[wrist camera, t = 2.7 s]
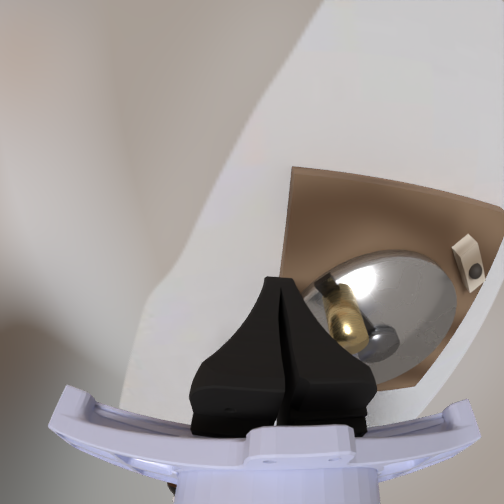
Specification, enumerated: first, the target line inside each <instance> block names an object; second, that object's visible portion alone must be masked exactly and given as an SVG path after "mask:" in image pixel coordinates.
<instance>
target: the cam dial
mask: <svg viewBox="0 0 504 504" xmlns="http://www.w3.org/2000/svg"><path fill="white" fill-rule="evenodd" d="M301 296H302V297H303V299H304V301H305V302H306V304H307V306H308V307H309V309H310V310H311V312H312V313H313V315H314V316H315V318H316V319H317V320H318V322H319V323H320V324H321V325H322V327H323V328H324V329H325V330H326V331H327V332H328V333H329V335H330V336H331V337H332V338H333V339H334V340H335V341H337V342H338V343H339V344H340V345H341V346H342V347H343V348H344V349H345V350H347V351H348V352H349V353H350V354H352V355H353V356H354V357H356V358H357V359H359V360H360V361H362V362H363V363H365V364H366V365H368V366H369V367H370V368H371V370H372V373H373V375H374V378H375V381H376V385H377V384H380V383H383V382H386V381H388V380H391V379H393V378H395V377H397V376H399V375H401V374H403V373H405V372H407V371H408V370H410V369H412V368H413V367H415V366H416V365H418V364H419V363H420V362H422V361H423V360H424V359H425V358H426V357H428V356H429V355H430V354H431V353H432V352H433V351H434V350H435V349H436V347H437V346H438V345H439V344H440V343H441V341H442V340H443V339H444V337H445V336H446V334H447V332H448V331H449V329H450V327H451V325H452V322H453V320H454V316H455V313H456V307H457V296H456V291H455V288H454V285H453V283H452V281H451V280H450V279H449V277H448V276H447V275H446V273H445V272H444V271H443V269H442V268H441V267H440V265H439V264H437V263H436V262H435V261H434V260H433V259H431V258H429V257H428V256H426V255H424V254H421V253H418V252H415V251H409V250H397V249H391V250H382V251H376V252H372V253H367V254H364V255H361V256H358V257H355V258H352V259H350V260H348V261H345V262H343V263H341V264H339V265H337V266H335V267H334V268H332V269H330V270H328V271H327V272H325V273H324V274H322V275H321V276H320V277H318V278H317V279H316V280H314V281H313V282H312V283H311V284H310V285H309V286H308V287H307V288H305V289H304V290H303V291H302V293H301Z"/></svg>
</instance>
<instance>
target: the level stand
mask: <svg viewBox="0 0 504 504" xmlns="http://www.w3.org/2000/svg"><path fill="white" fill-rule="evenodd" d="M503 237H504V210H503V209H502V208H500V207H498V206H495V205H492V204H489V203H485V202H482V201H479V200H475V199H471V198H468V197H464V196H460V195H457V194H453V193H449V192H445V191H440V190H436V189H432V188H427V187H423V186H418V185H414V184H409V183H404V182H399V181H393V180H388V179H382V178H376V177H370V176H364V175H358V174H351V173H344V172H337V171H329V170H321V169H312V168H303V167H292V171H291V181H290V191H289V200H288V209H287V218H286V227H285V235H284V243H283V252H282V260H281V267H280V275H279V277H283V278H292V279H293V280H294V282H295V284H296V286H297V288H298V290H299V292H300V294H301V293H302V291H303V290H304V289H305V288H307V287H308V286H309V285H310V284H311V283H312V282H313V281H314V280H316V279H317V278H318V277H320V276H321V275H322V274H324V273H325V272H327V271H328V270H330V269H332V268H334V267H335V266H337V265H339V264H341V263H343V262H345V261H348V260H350V259H352V258H355V257H358V256H361V255H364V254H367V253H372V252H376V251H382V250H391V249H397V250H409V251H415V252H418V253H421V254H424V255H426V256H428V257H429V258H431V259H433V260H434V261H435V262H436V263H437V264H439V265H440V267H441V268H442V269H443V271H444V272H445V273H446V275H447V276H448V277H449V279H450V280H451V281H452V283H453V285H454V288H455V291H456V296H457V307H456V313H455V316H454V320H453V322H452V325H451V327H450V329H449V331H448V332H447V334H446V336H445V337H444V339H443V340H442V341H441V343H440V344H439V345H438V346H437V347H436V349H435V350H434V351H433V352H432V353H431V354H430V355H429V356H428V357H426V358H425V359H424V360H423V361H422V362H420V363H419V364H418V365H416V366H415V367H413V368H412V369H410V370H408V371H407V372H405V373H403V374H401V375H399V376H397V377H395V378H393V379H391V380H388V381H386V382H383V383H380V384H377V391H385V390H393V389H400V388H407V387H414V386H416V384H417V383H418V382H419V381H420V380H421V378H422V377H423V376H424V375H425V373H426V372H427V371H428V370H429V368H430V367H431V366H432V364H433V363H434V362H435V360H436V359H437V358H438V356H439V355H440V354H441V352H442V351H443V349H444V348H445V346H446V345H447V344H448V342H449V341H450V339H451V338H452V336H453V335H454V333H455V332H456V330H457V328H458V327H459V325H460V324H461V322H462V320H463V319H464V317H465V315H466V314H467V312H468V310H469V309H470V307H471V305H472V303H473V301H474V300H475V298H476V296H477V294H478V292H479V290H480V288H481V286H482V284H483V282H484V281H486V280H485V278H486V276H487V274H488V272H489V270H490V268H491V266H492V263H493V261H494V259H495V257H496V254H497V252H498V250H499V247H500V245H501V242H502V240H503Z"/></svg>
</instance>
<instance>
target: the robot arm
mask: <svg viewBox="0 0 504 504" xmlns="http://www.w3.org/2000/svg"><path fill="white" fill-rule="evenodd" d="M376 392H377V385H376V381H375V378H374V375H373V373H372V370H371V368H370V367H369V366H368V365H366V364H365V363H363V362H362V361H360V360H359V359H357V358H356V357H354V356H353V355H352V354H350V353H349V352H348V351H347V350H345V349H344V348H343V347H342V346H341V345H340V344H339V343H338V342H337V341H335V340H334V339H333V338H332V337H331V336H330V335H329V333H328V332H327V331H326V330H325V329H324V328H323V327H322V325H321V324H320V323H319V322H318V320H317V319H316V318H315V316H314V315H313V313H312V312H311V310H310V309H309V307H308V306H307V304H306V302H305V301H304V299H303V297H302V296H301V294H300V292H299V290H298V288H297V286H296V284H295V282H294V280H293V279H292V278H283V277H268V276H267V277H266V278H264V284H263V288H262V290H261V293H260V295H259V297H258V299H257V301H256V303H255V305H254V307H253V309H252V310H251V312H250V314H249V315H248V317H247V318H246V320H245V321H244V323H243V324H242V325H241V327H240V328H239V329H238V330H237V331H236V333H235V334H234V335H233V336H232V337H231V338H230V339H229V340H228V341H227V342H226V343H225V344H224V345H223V346H222V347H221V348H220V349H219V350H218V351H216V352H215V353H214V354H213V355H211V356H210V357H209V358H207V359H206V360H205V361H203V362H202V364H201V366H200V367H199V369H198V371H197V373H196V375H195V377H194V379H193V382H192V385H191V389H190V394H189V400H190V403H191V406H192V409H193V412H194V413H193V418H192V423H191V425H188V424H182V423H176V422H171V421H166V420H161V419H157V418H152V417H148V416H144V415H140V414H136V413H132V412H129V411H125V410H121V409H118V408H114V407H111V406H108V405H105V404H102V403H99V402H96V401H95V399H94V398H93V396H92V395H91V394H90V393H88V392H86V391H84V390H81V389H78V388H76V387H73V386H71V385H66V387H65V389H64V391H63V393H62V395H61V397H60V399H59V402H58V404H57V406H56V408H55V410H54V413H53V415H52V417H51V419H50V422H49V424H48V427H49V428H50V429H51V430H52V431H53V432H55V433H56V434H57V435H58V436H60V437H61V438H62V439H63V440H65V441H66V442H67V443H68V444H70V445H71V446H73V447H74V448H76V449H78V450H81V451H83V452H85V453H87V454H90V455H92V456H94V457H97V458H99V459H102V460H104V461H106V462H109V463H112V464H114V465H116V466H119V467H122V468H124V469H127V470H130V471H133V472H136V473H139V474H142V475H145V476H148V477H151V478H154V479H158V480H162V481H165V482H169V483H173V484H177V487H176V492H175V498H174V504H380V496H379V486H378V483H379V482H383V481H386V480H390V479H393V478H397V477H400V476H403V475H406V474H409V473H412V472H415V471H418V470H421V469H423V468H426V467H429V466H431V465H434V464H437V463H439V462H442V461H444V460H447V459H449V458H452V457H454V456H455V455H457V454H458V453H460V452H461V451H463V450H464V449H466V448H467V447H469V446H470V445H472V444H473V443H475V442H476V441H477V440H479V439H480V438H481V434H480V431H479V428H478V425H477V422H476V419H475V416H474V413H473V410H472V408H471V405H470V402H469V400H468V399H465V400H462V401H458V402H455V403H452V404H451V405H449V406H448V407H446V408H445V409H444V410H443V412H442V413H438V414H434V415H430V416H427V417H422V418H418V419H414V420H409V421H404V422H399V423H394V424H389V425H383V426H376V427H369V428H367V425H366V420H365V417H366V416H367V409H366V406H367V405H368V404H369V402H370V401H371V400H372V399H373V397H374V396H375V394H376ZM276 419H277V425H276V426H274V422H275V421H276Z"/></svg>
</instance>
